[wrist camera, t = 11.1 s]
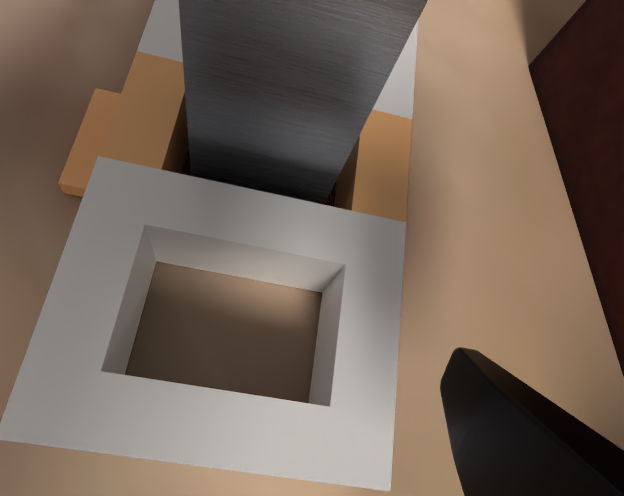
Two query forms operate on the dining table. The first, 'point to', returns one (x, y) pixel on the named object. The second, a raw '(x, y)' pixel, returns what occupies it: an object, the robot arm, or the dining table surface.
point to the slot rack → (225, 260)
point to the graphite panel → (285, 86)
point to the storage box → (591, 140)
